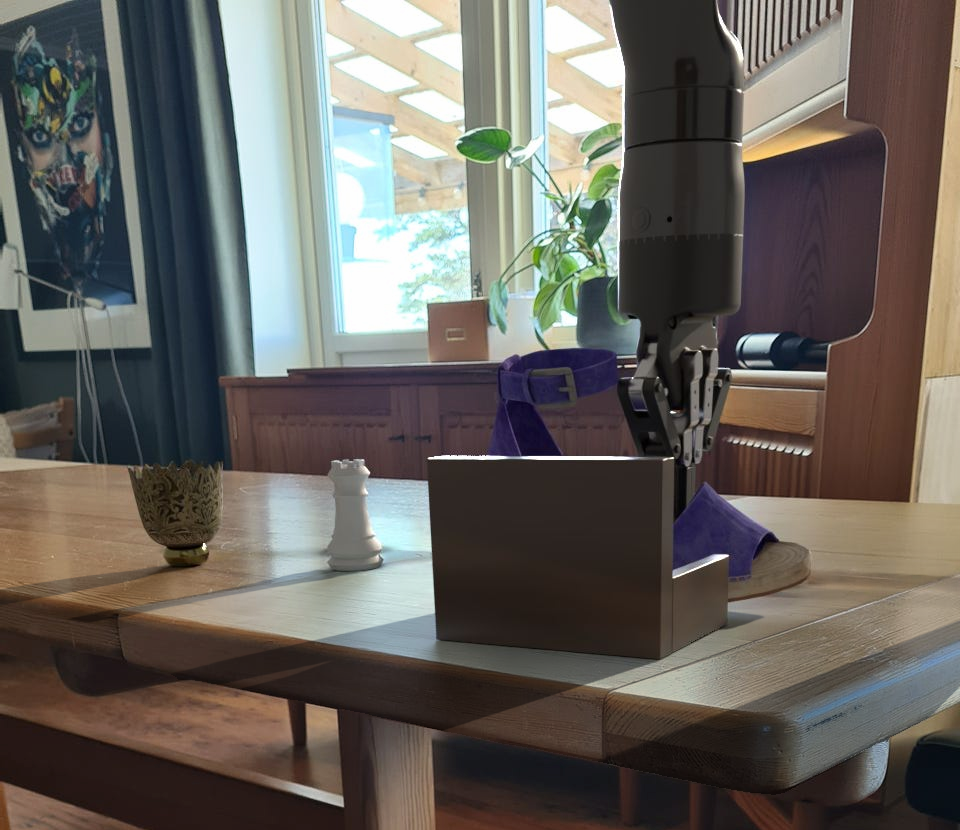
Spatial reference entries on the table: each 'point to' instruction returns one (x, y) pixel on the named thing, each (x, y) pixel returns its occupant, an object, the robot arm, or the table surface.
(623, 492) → the brown stepped block
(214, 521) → the cup
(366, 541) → the rook chess piece
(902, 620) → the table surface
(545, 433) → the sandal
